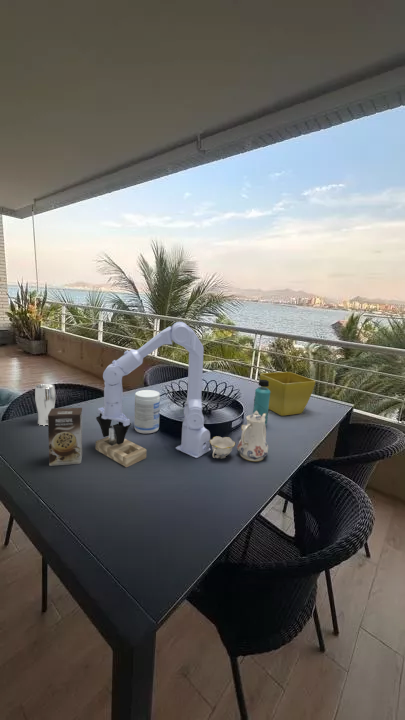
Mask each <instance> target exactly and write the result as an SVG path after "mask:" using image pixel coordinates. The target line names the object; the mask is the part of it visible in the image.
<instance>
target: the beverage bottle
mask: <svg viewBox="0 0 405 720" xmlns="http://www.w3.org/2000/svg"><path fill="white" fill-rule="evenodd" d="M258 386H259V387H257V388H255V390H254V391H255V392H254V393H255V394H254V399H253V409H252V410H253V412H252V414H254V412H255V411H258V413H259V415H260V416H261V417H262V415H263V413H266V416H265V426H266V425H267V424H268V421H269V420H268V419H269V410H270V409H269V400H270V390H269V389H268V388H266V387H268V386H269V381H267V380H260V379H259V380H258ZM261 386H263V387H261Z"/></svg>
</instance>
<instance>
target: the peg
mask: <svg viewBox="0 0 405 720" xmlns="http://www.w3.org/2000/svg"><path fill="white" fill-rule="evenodd" d="M108 437H109V445H111V446H112V445H115V444H117V441H116V432H115V429H114V427H113V425H111V426H110V427H109V436H108Z"/></svg>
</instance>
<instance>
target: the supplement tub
mask: <svg viewBox="0 0 405 720" xmlns="http://www.w3.org/2000/svg"><path fill="white" fill-rule="evenodd" d="M160 403H161V393H160V392H159V391H158V390H157V391H156V390H154V389H143V390H138V391H136V392H135V394H134V425H133V426H134V429H135V431H136V432H137V433H140V434H145V435H146V434H147V435H148V434H152V433H156V432H157V431H158V430H159V428H160V409H161V407H160V406H161V405H160Z"/></svg>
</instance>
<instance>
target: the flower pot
mask: <svg viewBox="0 0 405 720" xmlns="http://www.w3.org/2000/svg"><path fill="white" fill-rule="evenodd" d="M259 380H267V381H269V386H268V387H266V388H268V389H269V390H270V400H269V409H268V410H270V411H272V412H274V413H276V414H277V415H279V416H281V417H283V416H284V417H285V416H289V415H290V416H291V415H298V414H303V412H304V410H305V408H306V407H307V405H308V403H309V400H310V399H311V396H312V394H313V391H314V388H315V385H316V380H314V379H311V378H308V377H306V376H303V375H301V374H297V373H294V372H291V371H282V372H280V371H279V372H262V373H259ZM260 387H263V386H260Z"/></svg>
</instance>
